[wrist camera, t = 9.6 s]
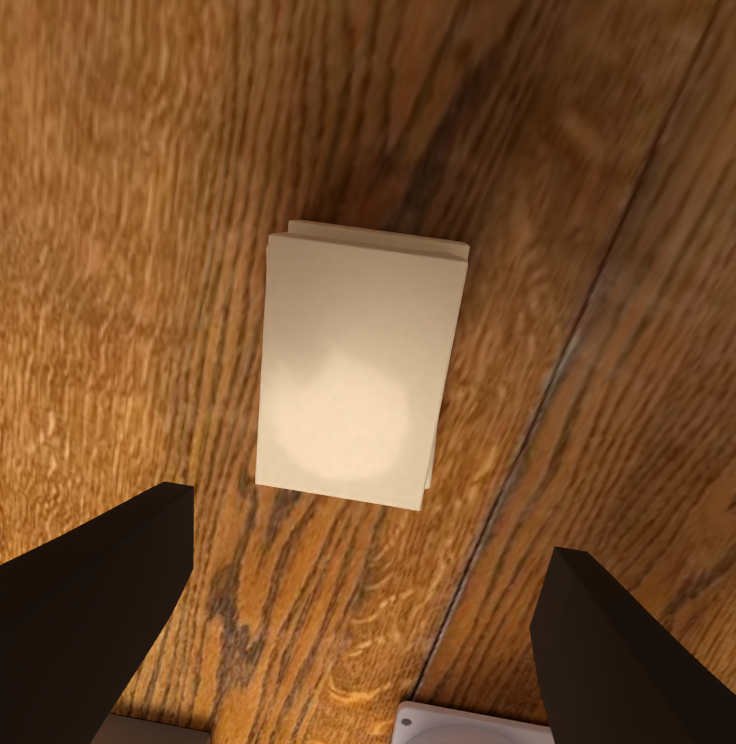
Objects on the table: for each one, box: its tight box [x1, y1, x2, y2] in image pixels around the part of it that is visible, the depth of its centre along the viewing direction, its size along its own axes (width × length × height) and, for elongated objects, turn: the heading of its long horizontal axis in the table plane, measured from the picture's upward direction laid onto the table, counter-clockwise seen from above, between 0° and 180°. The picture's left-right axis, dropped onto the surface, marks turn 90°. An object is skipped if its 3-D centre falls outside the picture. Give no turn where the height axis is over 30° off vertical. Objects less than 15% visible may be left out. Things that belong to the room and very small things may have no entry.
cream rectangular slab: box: [255, 232, 468, 511], centre depth 15 cm, size 8×6×1 cm
